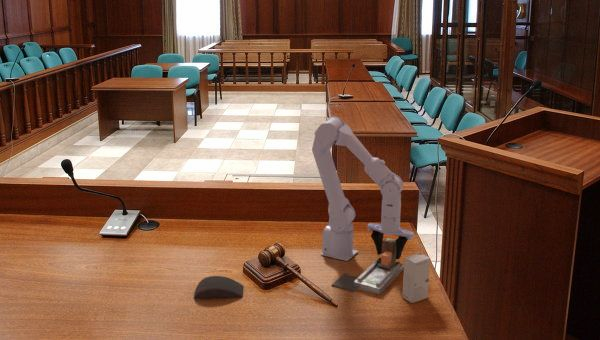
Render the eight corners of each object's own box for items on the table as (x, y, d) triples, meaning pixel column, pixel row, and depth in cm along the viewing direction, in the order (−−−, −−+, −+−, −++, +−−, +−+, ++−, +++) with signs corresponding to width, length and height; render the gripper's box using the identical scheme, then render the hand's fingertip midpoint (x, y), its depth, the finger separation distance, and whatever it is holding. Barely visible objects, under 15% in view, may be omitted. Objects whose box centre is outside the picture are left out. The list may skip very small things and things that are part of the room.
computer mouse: (196, 287, 176) (195, 275, 175) (243, 286, 177) (243, 273, 176) (193, 301, 169) (192, 288, 167) (242, 300, 169) (242, 287, 168)
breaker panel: (353, 288, 175) (353, 279, 174) (378, 263, 190) (379, 255, 189) (379, 295, 171) (379, 286, 170) (403, 269, 186) (403, 261, 185)
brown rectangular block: (381, 262, 191) (382, 240, 189) (385, 258, 194) (386, 237, 191) (391, 265, 189) (392, 243, 187) (396, 260, 192) (397, 239, 190)
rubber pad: (331, 285, 176) (331, 284, 176) (344, 274, 183) (344, 273, 183) (353, 291, 173) (353, 290, 173) (365, 280, 180) (365, 279, 179)
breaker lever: (377, 266, 183) (377, 254, 182) (382, 260, 187) (383, 249, 185) (389, 269, 181) (390, 257, 180) (394, 263, 185) (395, 252, 184)
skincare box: (412, 303, 167) (415, 263, 163) (401, 297, 170) (403, 257, 167) (428, 297, 170) (431, 258, 166) (417, 291, 174) (419, 252, 170)
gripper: (418, 215, 186) (415, 256, 191) (374, 206, 193) (372, 246, 198) (409, 223, 181) (407, 265, 185) (365, 214, 188) (363, 254, 192)
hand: (388, 255), depth 191 cm, fingers open, 6 cm apart
